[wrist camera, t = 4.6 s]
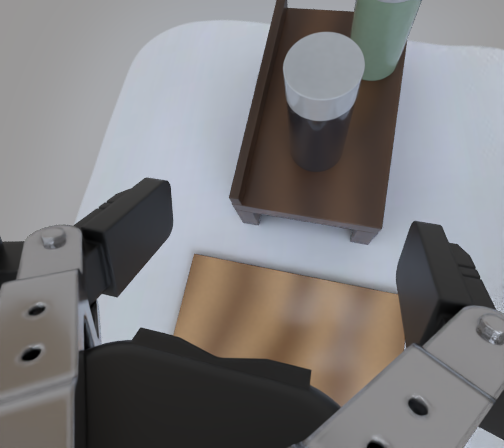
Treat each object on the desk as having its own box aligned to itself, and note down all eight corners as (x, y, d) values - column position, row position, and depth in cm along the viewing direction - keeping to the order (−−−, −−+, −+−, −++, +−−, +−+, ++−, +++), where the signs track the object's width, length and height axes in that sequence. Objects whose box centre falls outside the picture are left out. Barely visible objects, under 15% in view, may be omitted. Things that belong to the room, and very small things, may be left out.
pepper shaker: (348, 126, 29) (370, 33, 20) (339, 176, 28) (359, 104, 19) (294, 120, 30) (290, 28, 20) (284, 168, 29) (275, 95, 19)
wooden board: (408, 297, 31) (409, 296, 30) (385, 502, 27) (387, 505, 27) (195, 254, 34) (194, 253, 34) (150, 430, 31) (148, 431, 30)
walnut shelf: (393, 61, 37) (416, -2, 30) (367, 244, 32) (386, 223, 25) (281, 52, 39) (277, -8, 32) (243, 222, 35) (227, 197, 27)
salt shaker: (401, 40, 31) (447, -87, 21) (395, 84, 30) (440, -28, 20) (349, 36, 31) (369, -87, 22) (341, 79, 30) (359, -31, 21)
